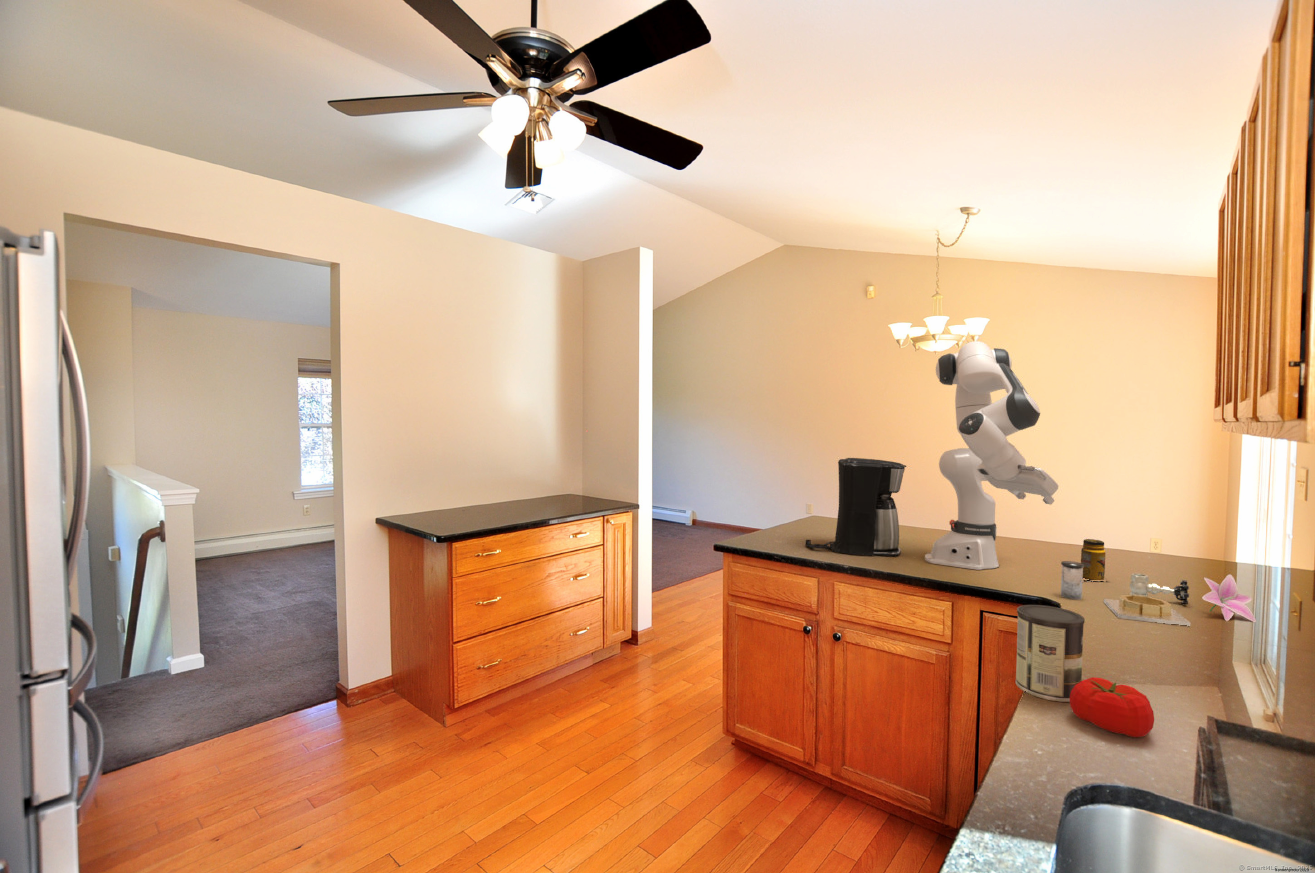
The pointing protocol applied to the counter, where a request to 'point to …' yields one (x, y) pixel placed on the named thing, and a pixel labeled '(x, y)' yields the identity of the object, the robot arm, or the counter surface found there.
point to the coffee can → (1049, 651)
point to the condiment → (1093, 559)
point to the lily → (1228, 598)
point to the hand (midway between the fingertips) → (1036, 500)
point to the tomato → (1112, 707)
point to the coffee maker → (867, 508)
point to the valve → (1157, 588)
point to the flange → (1145, 609)
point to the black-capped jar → (1071, 579)
